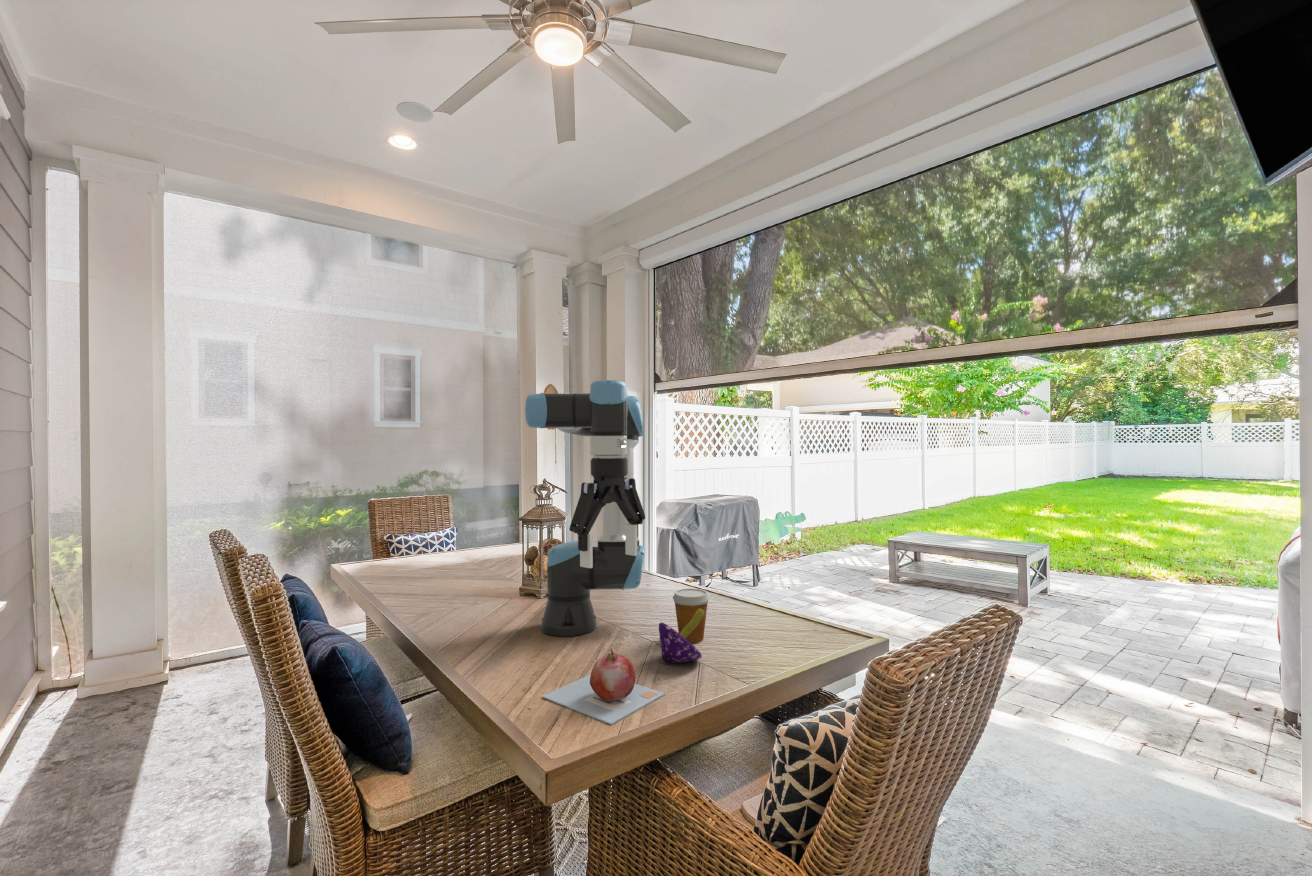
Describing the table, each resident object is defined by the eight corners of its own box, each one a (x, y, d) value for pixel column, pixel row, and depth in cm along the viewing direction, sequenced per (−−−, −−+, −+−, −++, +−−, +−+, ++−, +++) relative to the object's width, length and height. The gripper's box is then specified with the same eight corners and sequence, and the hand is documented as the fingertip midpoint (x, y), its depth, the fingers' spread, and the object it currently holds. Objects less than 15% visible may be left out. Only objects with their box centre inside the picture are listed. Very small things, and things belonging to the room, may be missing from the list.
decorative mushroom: (674, 589, 146) (635, 640, 141) (695, 596, 135) (655, 651, 130) (708, 621, 149) (672, 672, 144) (732, 630, 137) (694, 686, 132)
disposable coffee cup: (707, 646, 149) (707, 598, 149) (670, 643, 151) (669, 596, 151) (711, 633, 158) (711, 588, 158) (676, 631, 160) (676, 587, 160)
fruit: (614, 684, 126) (615, 637, 126) (644, 698, 119) (646, 647, 119) (579, 696, 119) (580, 645, 120) (609, 711, 112) (610, 657, 113)
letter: (542, 697, 120) (542, 695, 120) (597, 672, 133) (597, 670, 133) (611, 725, 108) (611, 722, 108) (664, 694, 121) (664, 692, 121)
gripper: (578, 460, 109) (579, 575, 109) (661, 454, 129) (661, 552, 129) (550, 459, 114) (551, 569, 114) (634, 453, 133) (635, 548, 134)
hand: (609, 560), depth 121 cm, fingers open, 13 cm apart
